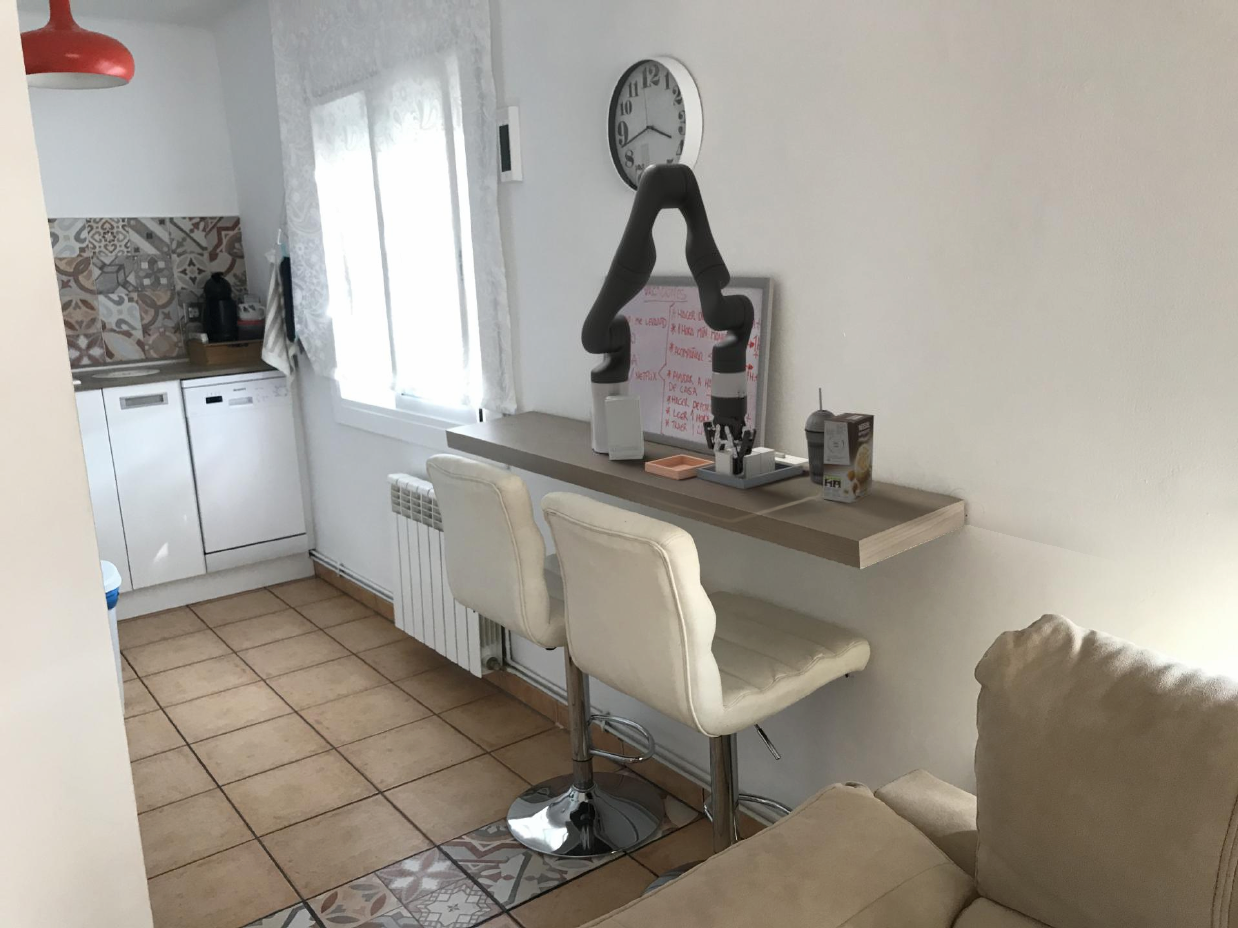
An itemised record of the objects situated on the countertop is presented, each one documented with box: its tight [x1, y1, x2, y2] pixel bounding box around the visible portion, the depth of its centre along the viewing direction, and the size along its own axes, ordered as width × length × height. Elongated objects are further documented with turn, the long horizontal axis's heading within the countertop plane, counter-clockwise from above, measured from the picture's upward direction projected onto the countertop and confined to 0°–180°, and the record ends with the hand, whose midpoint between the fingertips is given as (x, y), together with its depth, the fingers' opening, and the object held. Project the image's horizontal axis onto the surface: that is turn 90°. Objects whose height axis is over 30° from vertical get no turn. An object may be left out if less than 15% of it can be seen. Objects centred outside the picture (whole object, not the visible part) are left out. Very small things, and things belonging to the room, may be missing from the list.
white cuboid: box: [737, 452, 760, 479], centre depth 212 cm, size 4×4×5 cm
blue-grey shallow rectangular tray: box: [696, 451, 809, 490], centre depth 213 cm, size 15×21×4 cm
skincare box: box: [605, 393, 645, 461], centre depth 234 cm, size 8×6×15 cm
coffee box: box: [822, 412, 875, 504], centre depth 194 cm, size 9×6×16 cm
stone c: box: [752, 446, 776, 475], centre depth 214 cm, size 4×4×5 cm
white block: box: [714, 448, 744, 477], centre depth 209 cm, size 4×4×5 cm
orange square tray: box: [644, 453, 715, 481], centre depth 219 cm, size 11×11×2 cm
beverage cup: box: [804, 387, 836, 485], centre depth 204 cm, size 7×7×20 cm
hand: (729, 471), depth 209 cm, fingers closed on white block, 4 cm apart
